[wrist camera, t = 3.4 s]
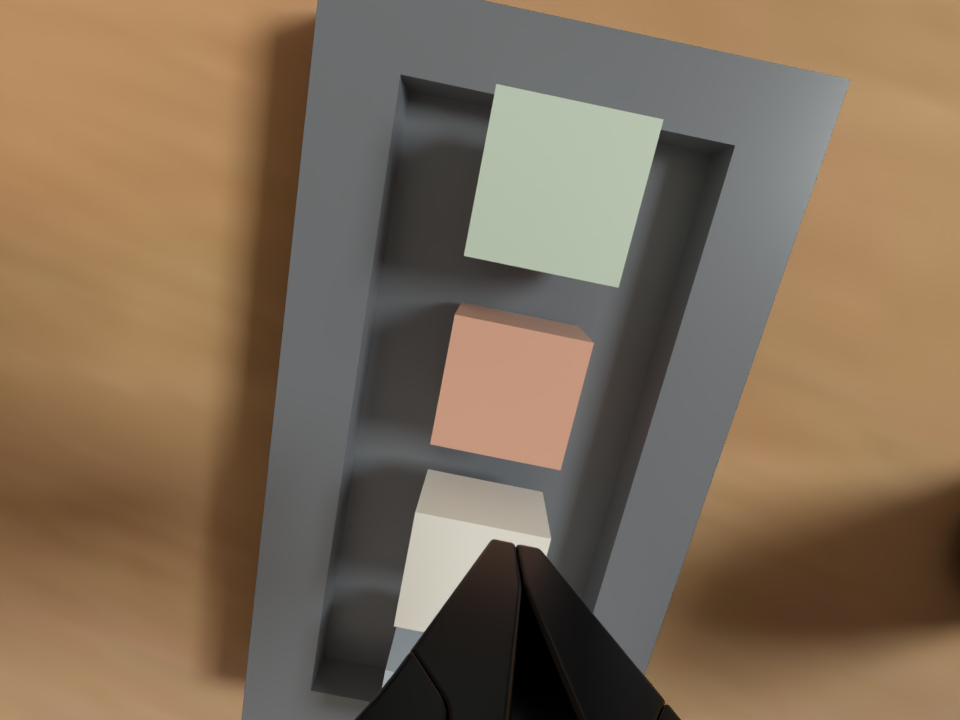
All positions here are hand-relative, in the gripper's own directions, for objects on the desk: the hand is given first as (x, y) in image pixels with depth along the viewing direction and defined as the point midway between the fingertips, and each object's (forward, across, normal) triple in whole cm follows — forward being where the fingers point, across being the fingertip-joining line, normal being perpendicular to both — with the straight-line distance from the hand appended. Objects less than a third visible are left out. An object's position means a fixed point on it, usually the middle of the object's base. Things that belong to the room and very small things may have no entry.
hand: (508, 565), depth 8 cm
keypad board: (+10, 0, +2) cm, 10 cm away
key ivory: (+7, 0, +4) cm, 9 cm away
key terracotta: (+8, 0, -1) cm, 8 cm away
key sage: (+7, 0, -7) cm, 10 cm away
